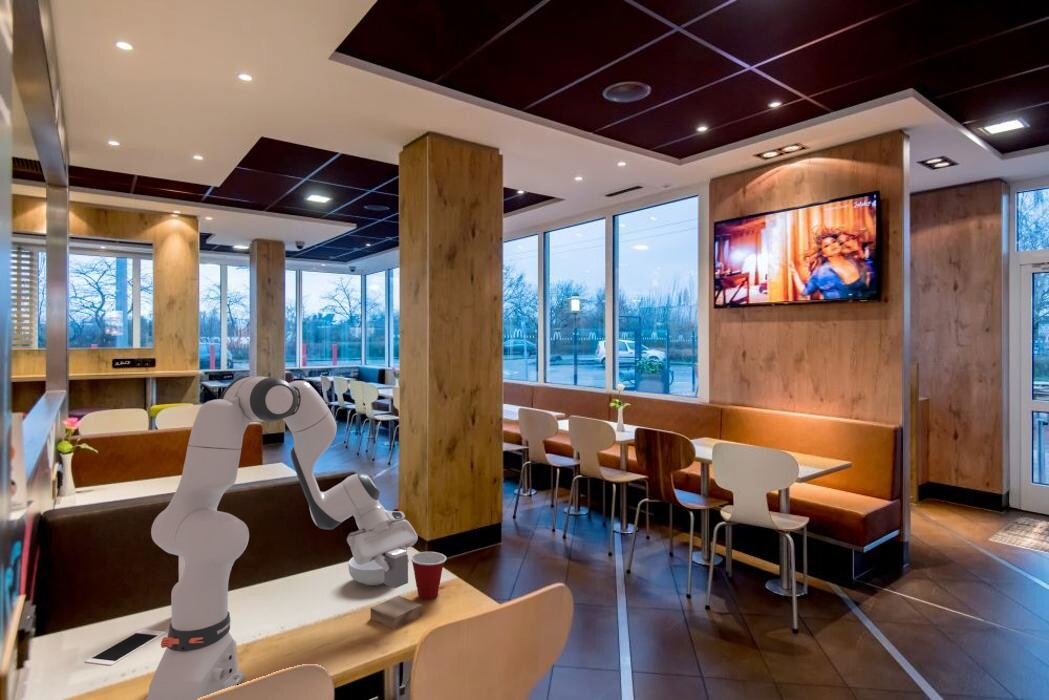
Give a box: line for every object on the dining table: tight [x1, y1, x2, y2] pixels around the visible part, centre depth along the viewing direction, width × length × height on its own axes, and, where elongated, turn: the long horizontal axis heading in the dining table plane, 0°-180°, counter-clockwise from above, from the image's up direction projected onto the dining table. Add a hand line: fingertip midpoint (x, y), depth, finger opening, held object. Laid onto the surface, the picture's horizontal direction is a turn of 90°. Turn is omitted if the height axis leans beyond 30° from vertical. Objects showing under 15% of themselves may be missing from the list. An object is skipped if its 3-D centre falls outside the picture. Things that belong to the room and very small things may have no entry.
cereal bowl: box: [348, 556, 384, 587], centre depth 183 cm, size 17×17×7 cm
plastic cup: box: [410, 551, 447, 601], centre depth 172 cm, size 11×11×12 cm
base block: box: [369, 595, 423, 630], centre depth 158 cm, size 10×10×3 cm
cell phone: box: [84, 628, 166, 666], centre depth 143 cm, size 8×16×1 cm, turn 169°
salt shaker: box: [383, 548, 409, 589], centre depth 159 cm, size 5×5×9 cm
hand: (397, 566), depth 158 cm, fingers closed on salt shaker, 5 cm apart
